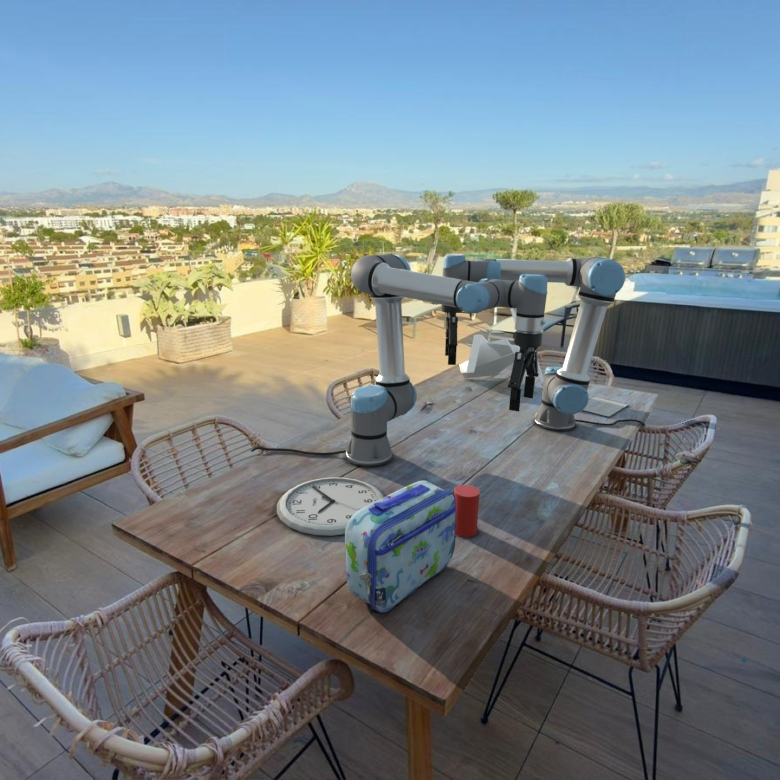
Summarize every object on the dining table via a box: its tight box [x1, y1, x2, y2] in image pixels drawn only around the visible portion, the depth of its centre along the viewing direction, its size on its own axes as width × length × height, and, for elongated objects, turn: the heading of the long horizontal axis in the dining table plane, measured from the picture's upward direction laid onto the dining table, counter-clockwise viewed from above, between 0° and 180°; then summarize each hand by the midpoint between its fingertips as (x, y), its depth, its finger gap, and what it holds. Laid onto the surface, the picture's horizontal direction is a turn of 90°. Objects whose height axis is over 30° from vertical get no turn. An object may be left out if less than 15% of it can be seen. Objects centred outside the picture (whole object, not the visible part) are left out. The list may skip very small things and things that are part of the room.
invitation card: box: [582, 396, 629, 418], centre depth 226 cm, size 21×1×15 cm
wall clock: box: [276, 476, 386, 537], centre depth 142 cm, size 30×2×30 cm
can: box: [453, 484, 481, 538], centre depth 130 cm, size 6×6×11 cm
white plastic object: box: [458, 308, 544, 387], centre depth 256 cm, size 37×45×31 cm
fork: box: [420, 396, 435, 411], centre depth 223 cm, size 3×16×2 cm, turn 160°
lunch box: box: [344, 480, 457, 614], centre depth 109 cm, size 26×11×21 cm, turn 135°
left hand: (521, 403), depth 151 cm, fingers open, 13 cm apart
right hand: (450, 360), depth 188 cm, fingers open, 13 cm apart
